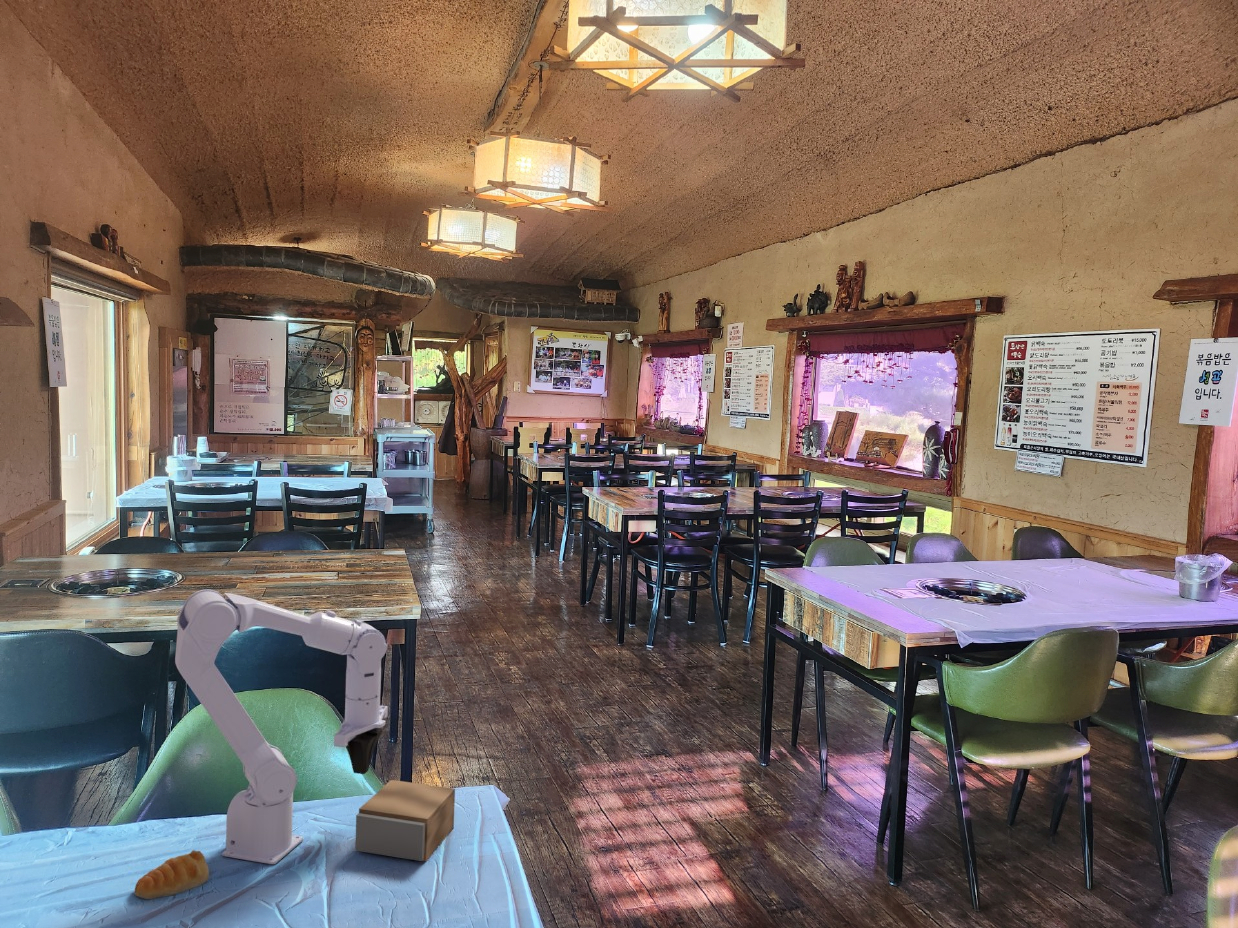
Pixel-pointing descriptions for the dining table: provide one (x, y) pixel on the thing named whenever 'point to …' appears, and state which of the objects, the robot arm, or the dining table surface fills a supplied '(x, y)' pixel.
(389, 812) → the housing
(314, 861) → the dining table surface
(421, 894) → the dining table surface
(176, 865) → the pastry
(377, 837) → the grey drawer
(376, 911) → the dining table surface
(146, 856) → the dining table surface
